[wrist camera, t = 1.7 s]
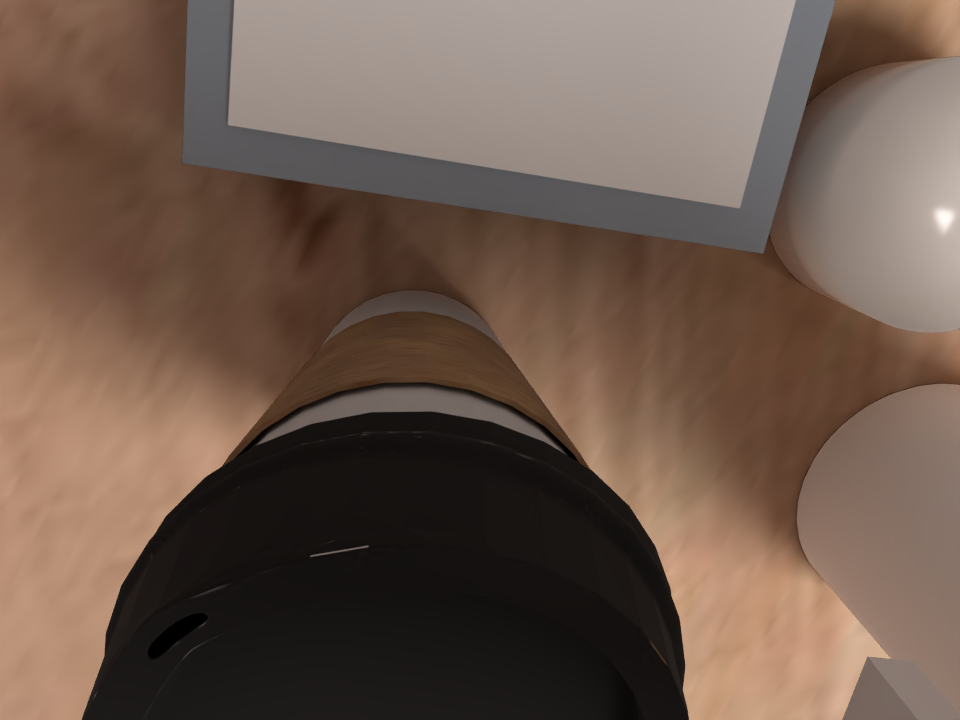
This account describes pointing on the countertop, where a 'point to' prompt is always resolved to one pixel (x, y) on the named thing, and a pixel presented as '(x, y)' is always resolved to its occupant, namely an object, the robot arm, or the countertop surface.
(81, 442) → the countertop surface
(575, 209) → the podium
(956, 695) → the container
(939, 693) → the robot arm
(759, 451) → the countertop surface
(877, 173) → the white dome
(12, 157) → the countertop surface
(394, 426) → the coffee cup
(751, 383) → the countertop surface
